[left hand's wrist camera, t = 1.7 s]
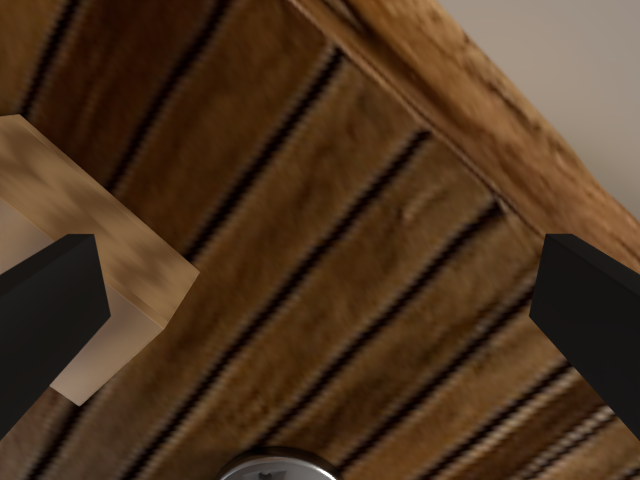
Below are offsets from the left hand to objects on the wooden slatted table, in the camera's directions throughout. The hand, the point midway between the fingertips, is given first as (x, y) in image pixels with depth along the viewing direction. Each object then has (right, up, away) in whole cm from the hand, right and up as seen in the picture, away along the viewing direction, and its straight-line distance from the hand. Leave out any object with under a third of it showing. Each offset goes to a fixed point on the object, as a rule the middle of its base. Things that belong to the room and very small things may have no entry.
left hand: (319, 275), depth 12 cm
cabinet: (-20, +1, +23) cm, 31 cm away
